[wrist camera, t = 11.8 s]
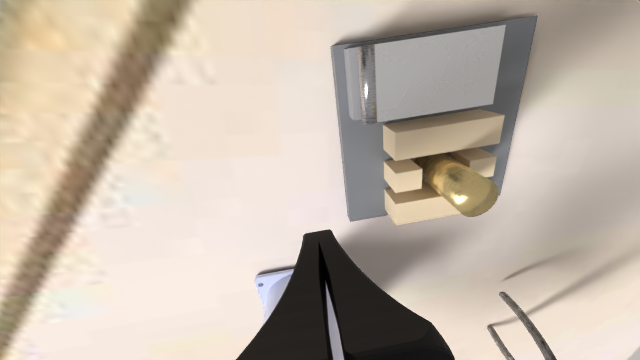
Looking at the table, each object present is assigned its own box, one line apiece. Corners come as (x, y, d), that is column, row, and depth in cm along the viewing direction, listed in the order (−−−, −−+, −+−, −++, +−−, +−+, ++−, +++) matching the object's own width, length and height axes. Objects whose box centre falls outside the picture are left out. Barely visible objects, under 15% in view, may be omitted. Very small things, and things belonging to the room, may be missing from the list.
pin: (443, 174, 21) (495, 212, 16) (413, 180, 21) (455, 220, 16) (445, 145, 20) (501, 175, 15) (413, 151, 20) (459, 184, 15)
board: (491, 190, 24) (522, 209, 21) (347, 215, 23) (356, 239, 20) (525, 17, 18) (575, 8, 15) (330, 46, 17) (339, 43, 14)
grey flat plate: (484, 102, 17) (495, 104, 16) (360, 121, 17) (364, 125, 16) (495, 26, 15) (508, 24, 14) (355, 47, 15) (359, 46, 14)
